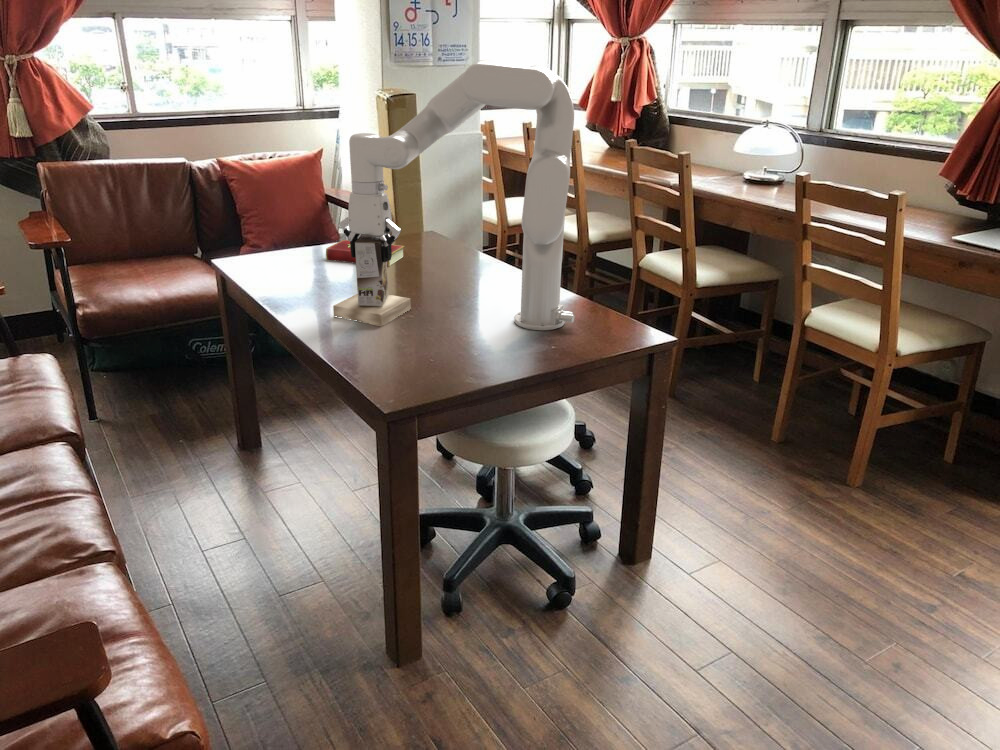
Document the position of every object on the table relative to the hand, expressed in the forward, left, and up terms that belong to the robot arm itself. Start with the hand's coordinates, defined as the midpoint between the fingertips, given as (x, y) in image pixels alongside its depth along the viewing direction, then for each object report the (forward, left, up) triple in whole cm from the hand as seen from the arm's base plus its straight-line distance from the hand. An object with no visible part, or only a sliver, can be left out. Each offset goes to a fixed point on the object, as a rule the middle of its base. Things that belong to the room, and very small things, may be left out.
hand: (371, 258), depth 201 cm
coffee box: (0, 0, -11) cm, 11 cm away
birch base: (0, 0, -14) cm, 14 cm away
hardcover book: (+30, -42, -15) cm, 54 cm away
